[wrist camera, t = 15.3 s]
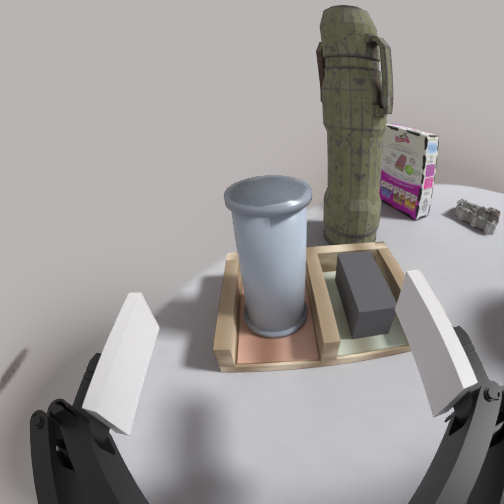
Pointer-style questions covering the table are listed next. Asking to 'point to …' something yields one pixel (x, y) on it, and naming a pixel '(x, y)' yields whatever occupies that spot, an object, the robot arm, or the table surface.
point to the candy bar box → (408, 169)
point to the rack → (317, 323)
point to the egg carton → (478, 216)
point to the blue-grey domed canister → (271, 251)
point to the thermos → (353, 121)
